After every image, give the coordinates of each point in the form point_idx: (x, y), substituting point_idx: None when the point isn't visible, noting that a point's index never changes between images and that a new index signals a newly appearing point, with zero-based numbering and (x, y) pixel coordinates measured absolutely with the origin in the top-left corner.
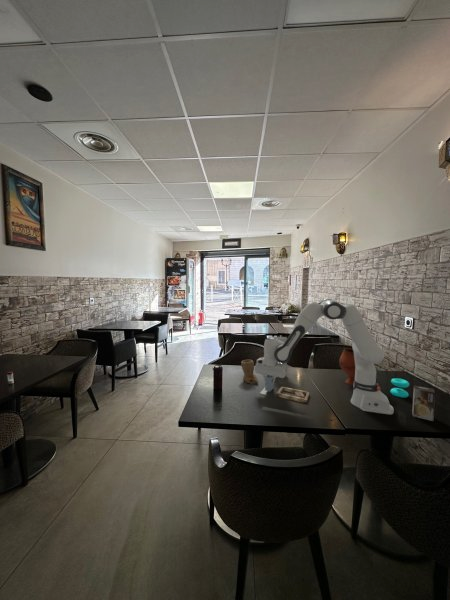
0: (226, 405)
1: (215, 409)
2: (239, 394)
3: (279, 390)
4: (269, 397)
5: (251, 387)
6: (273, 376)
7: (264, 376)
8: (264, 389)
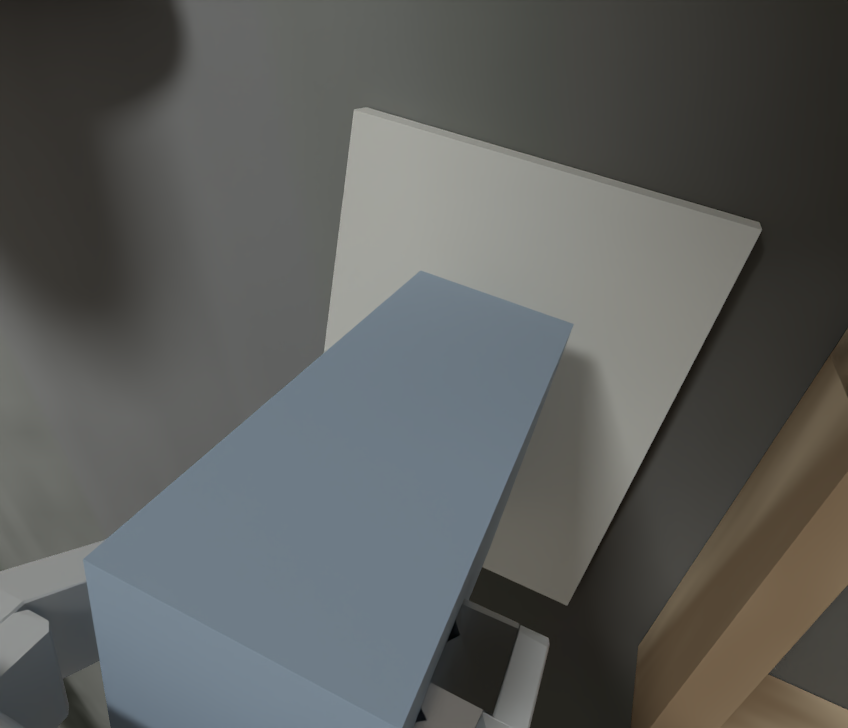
0: (98, 690)
1: (68, 724)
2: (78, 492)
3: (730, 661)
4: (498, 595)
5: (102, 204)
6: (434, 653)
7: (73, 669)
8: (362, 315)
